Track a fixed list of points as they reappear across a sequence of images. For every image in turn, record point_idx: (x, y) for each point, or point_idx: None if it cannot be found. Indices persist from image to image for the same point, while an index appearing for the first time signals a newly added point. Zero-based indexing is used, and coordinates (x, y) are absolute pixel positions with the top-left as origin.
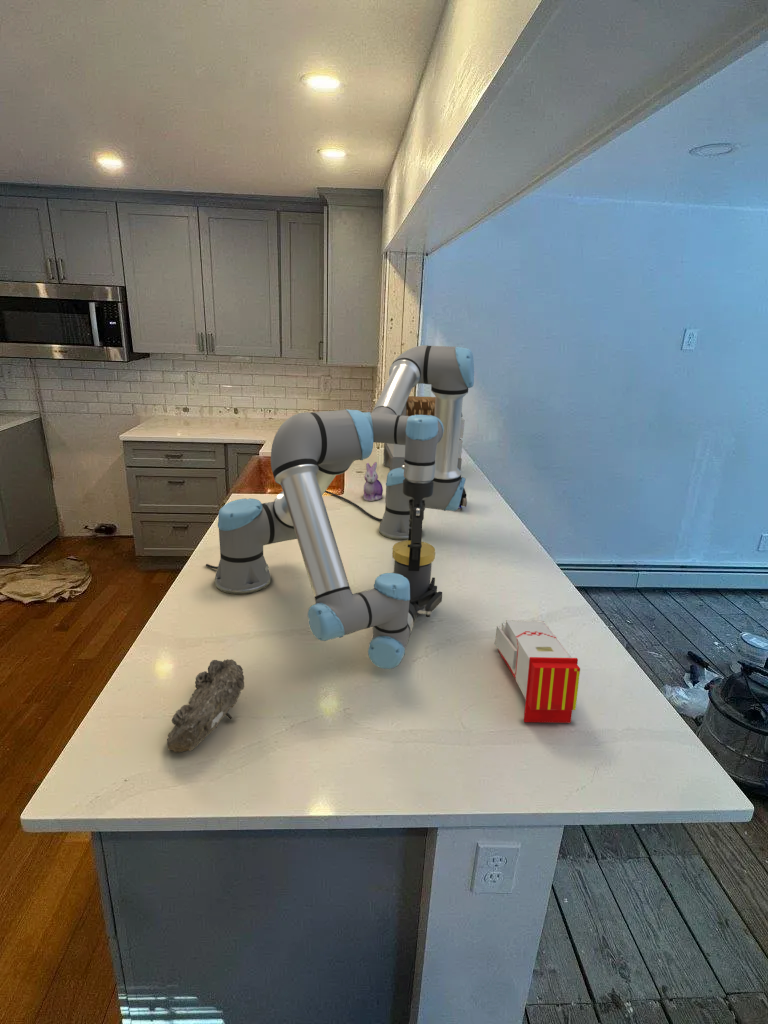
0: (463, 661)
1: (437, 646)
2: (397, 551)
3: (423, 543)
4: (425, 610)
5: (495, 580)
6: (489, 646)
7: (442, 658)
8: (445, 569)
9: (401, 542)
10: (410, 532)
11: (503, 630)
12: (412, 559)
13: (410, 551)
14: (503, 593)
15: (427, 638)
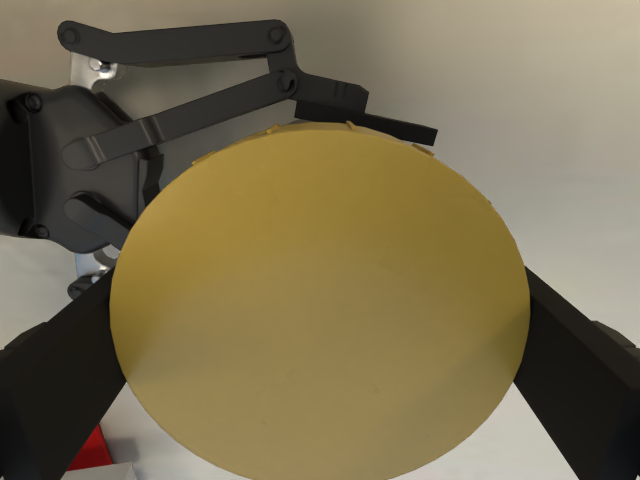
0: (15, 336)
1: (70, 273)
2: (211, 185)
3: (445, 420)
4: (79, 274)
5: (518, 466)
6: (117, 405)
7: (8, 283)
8: (628, 333)
9: (472, 230)
10: (591, 374)
11: (98, 477)
12: (34, 330)
13: (26, 352)
14: (430, 473)
15: (108, 245)
